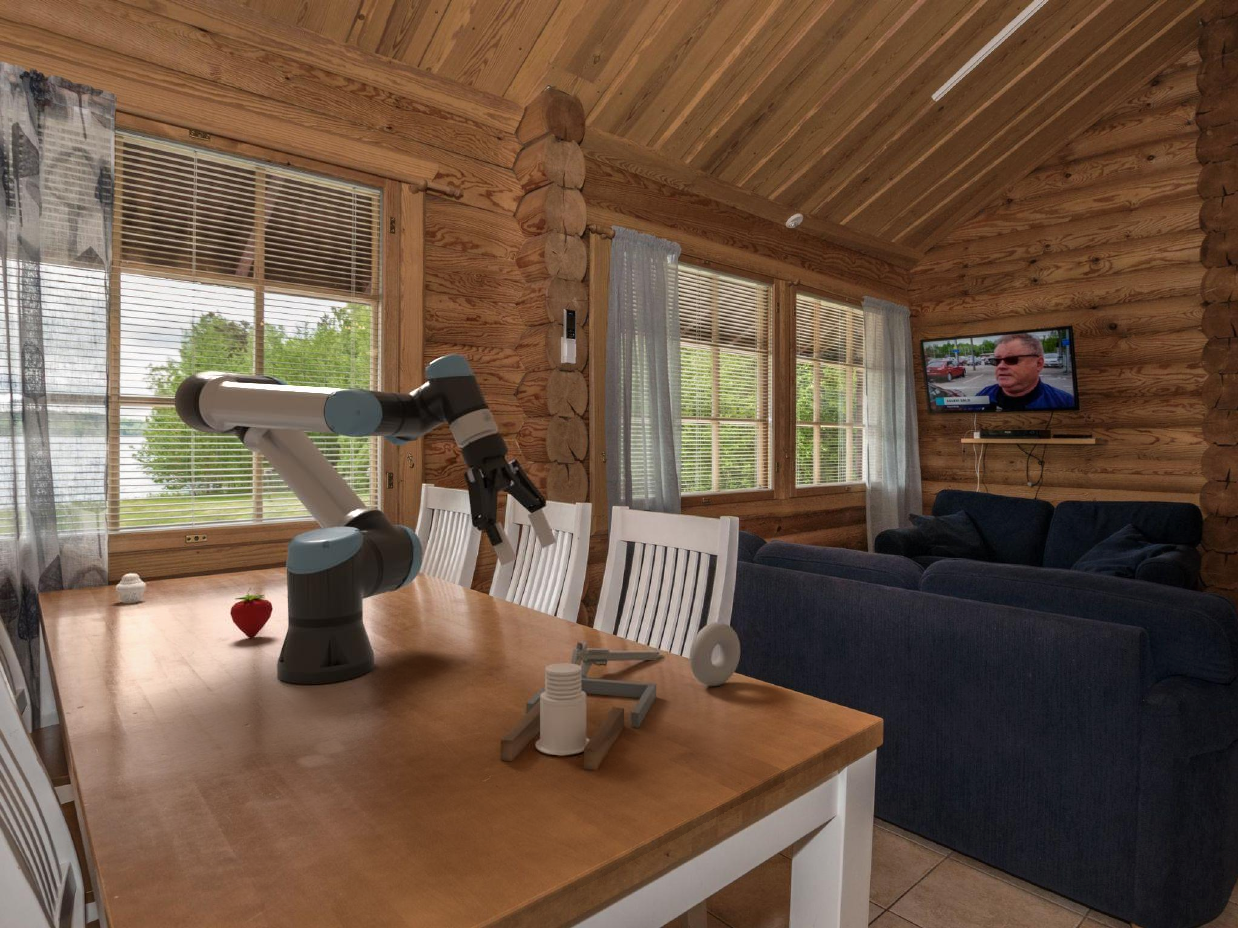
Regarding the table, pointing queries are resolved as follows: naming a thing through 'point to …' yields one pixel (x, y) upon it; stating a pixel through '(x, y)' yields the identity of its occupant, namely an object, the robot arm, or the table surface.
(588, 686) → the open frame
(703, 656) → the donut
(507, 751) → the slot
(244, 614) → the strawberry
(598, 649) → the caliper
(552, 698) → the downlight
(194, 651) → the table surface
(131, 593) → the muffin
